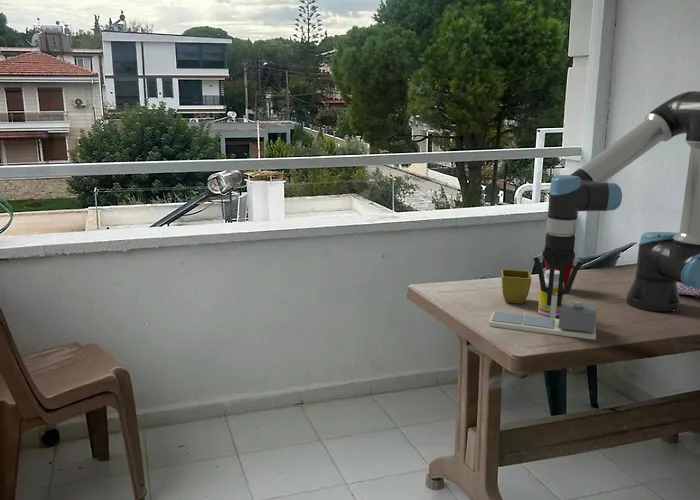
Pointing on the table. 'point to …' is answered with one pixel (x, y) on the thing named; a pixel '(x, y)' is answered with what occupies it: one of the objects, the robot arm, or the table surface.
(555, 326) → the board
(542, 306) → the supplement bottle
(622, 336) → the table surface
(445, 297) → the table surface
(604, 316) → the table surface
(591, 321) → the cover
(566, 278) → the plastic cup
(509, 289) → the flower pot
